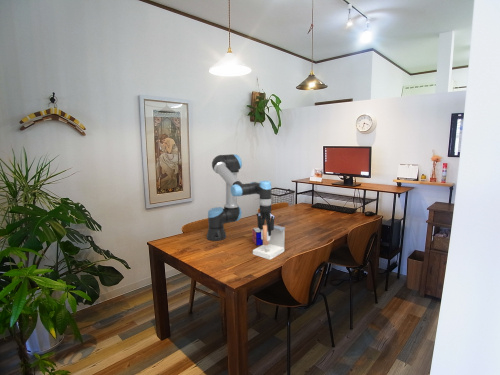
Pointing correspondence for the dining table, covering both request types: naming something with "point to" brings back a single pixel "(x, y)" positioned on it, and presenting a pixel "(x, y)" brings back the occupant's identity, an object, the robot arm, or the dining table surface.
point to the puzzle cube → (257, 236)
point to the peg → (265, 235)
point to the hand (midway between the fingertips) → (265, 239)
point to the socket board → (272, 244)
